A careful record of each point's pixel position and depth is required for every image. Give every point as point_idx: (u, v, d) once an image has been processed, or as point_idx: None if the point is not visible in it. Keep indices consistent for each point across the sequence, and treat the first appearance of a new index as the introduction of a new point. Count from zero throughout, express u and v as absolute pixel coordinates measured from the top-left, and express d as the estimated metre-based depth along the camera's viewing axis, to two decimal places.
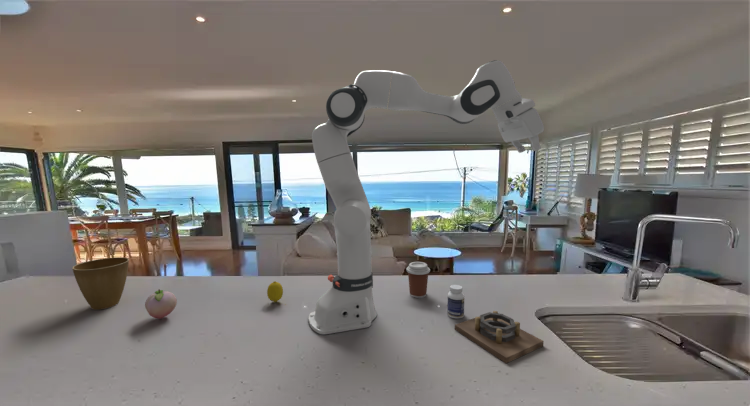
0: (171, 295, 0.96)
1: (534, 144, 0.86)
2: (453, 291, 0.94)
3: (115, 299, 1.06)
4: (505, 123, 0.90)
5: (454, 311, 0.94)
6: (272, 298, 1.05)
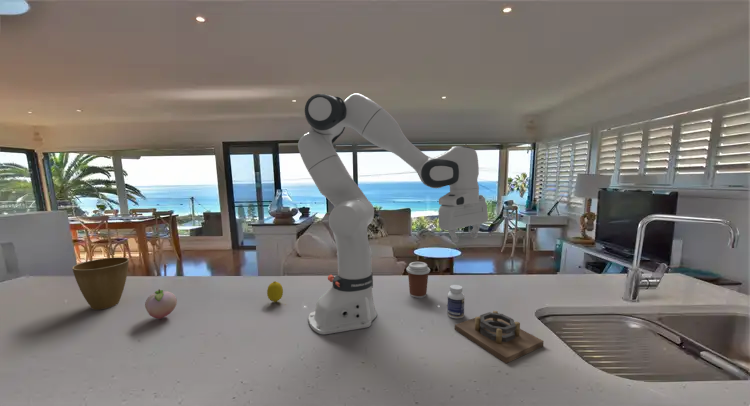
0: (171, 295, 0.96)
1: (451, 236, 0.92)
2: (453, 291, 0.94)
3: (115, 299, 1.06)
4: None
5: (454, 311, 0.94)
6: (272, 298, 1.05)
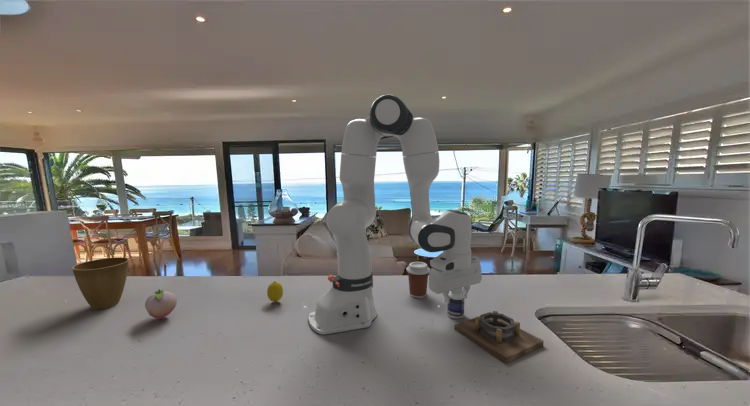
0: (171, 295, 0.96)
1: (444, 296, 0.94)
2: (453, 291, 0.94)
3: (115, 299, 1.06)
4: None
5: (454, 311, 0.94)
6: (272, 298, 1.05)
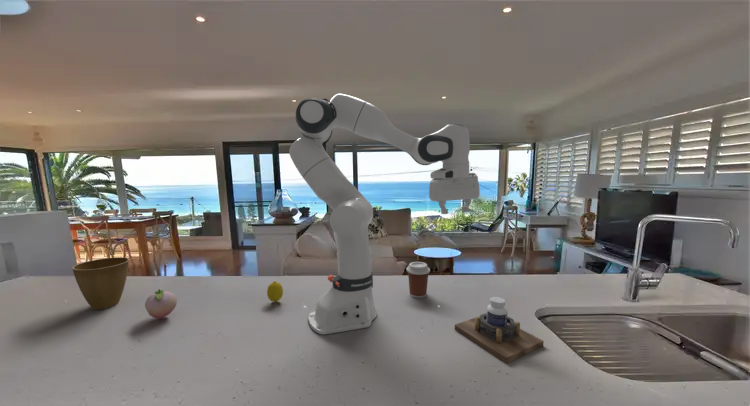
0: (171, 295, 0.96)
1: (441, 208, 0.99)
2: (495, 305, 0.81)
3: (115, 299, 1.06)
4: None
5: None
6: (272, 298, 1.05)
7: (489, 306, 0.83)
